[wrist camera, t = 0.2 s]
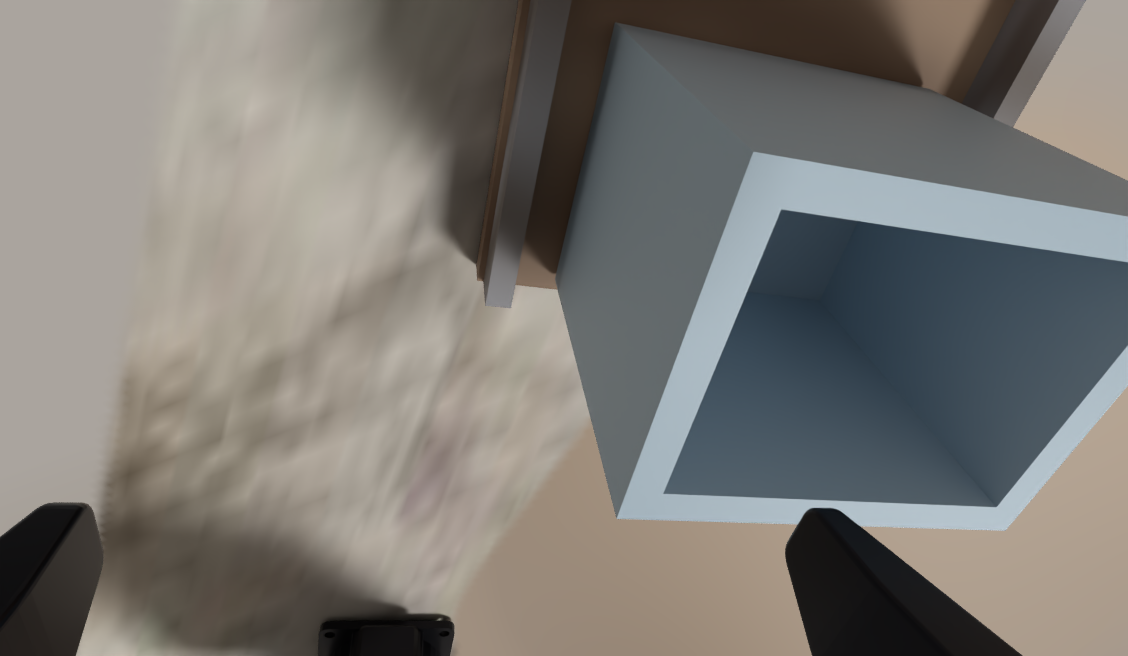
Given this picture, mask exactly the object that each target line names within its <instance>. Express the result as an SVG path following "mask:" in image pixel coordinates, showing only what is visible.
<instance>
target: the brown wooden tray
mask: <svg viewBox="0 0 1128 656" xmlns="http://www.w3.org/2000/svg"><path fill="white" fill-rule="evenodd" d="M1085 1H1086V0H519V1H518V7H517V13H516V20H515V26H514V32H513V39H512V45H511V51H510V57H509V64H508V70H507V76H506V83H505V89H504V95H503V101H502V108H501V114H500V120H499V127H498V133H497V139H496V145H495V152H494V158H493V164H492V171H491V177H490V183H489V189H488V196H487V202H486V208H485V215H484V221H483V227H482V233H481V240H480V246H479V252H478V259H477V265H476V268H477V281H483V282H484V294H485V306H495V307H504V308H511V304H512V299H513V294H514V289H515V285H522V286H530V287H539V288H548V289H557V285H556V281H555V277H556V272H557V268H558V264H559V260H560V255H561V251H562V247H563V242H564V238H565V234H566V230H567V225H568V221H569V217H570V212H571V208H572V204H573V200H574V195H575V191H576V187H577V183H578V178H579V174H580V170H581V165H582V161H583V157H584V153H585V148H586V144H587V140H588V135H589V131H590V127H591V123H592V118H593V114H594V110H595V105H596V101H597V97H598V93H599V88H600V84H601V80H602V75H603V71H604V67H605V63H606V58H607V54H608V50H609V45H610V41H611V37H612V33H613V28H614V24H615V22H616V23H621V24H626V25H631V26H635V27H640V28H645V29H649V30H654V31H659V32H664V33H668V34H673V35H678V36H682V37H687V38H692V39H697V40H701V41H706V42H711V43H715V44H720V45H725V46H730V47H734V48H739V49H744V50H748V51H753V52H758V53H763V54H767V55H772V56H777V57H781V58H786V59H791V60H796V61H800V62H805V63H810V64H815V65H819V66H824V67H829V68H833V69H838V70H843V71H848V72H852V73H857V74H862V75H866V76H871V77H876V78H881V79H885V80H890V81H895V82H899V83H904V84H909V85H914V86H918V87H923V88H928V89H931V90H933V91H935V92H937V93H939V94H941V95H944V96H946V97H948V98H950V99H952V100H954V101H956V102H959V103H961V104H963V105H965V106H967V107H969V108H972V109H974V110H976V111H978V112H980V113H982V114H985V115H987V116H989V117H991V118H993V119H995V120H998V121H1000V122H1002V123H1004V124H1006V125H1008V126H1011V127H1013V126H1014V125H1015V123H1016V121H1017V119H1018V118H1019V116H1020V114H1021V112H1022V111H1023V109H1024V107H1025V105H1026V104H1027V102H1028V100H1029V98H1030V96H1031V95H1032V93H1033V91H1034V90H1035V88H1036V86H1037V85H1038V83H1039V81H1040V79H1041V78H1042V76H1043V74H1044V72H1045V71H1046V69H1047V67H1048V66H1049V64H1050V62H1051V60H1052V59H1053V57H1054V55H1055V53H1056V51H1057V50H1058V48H1059V46H1060V45H1061V43H1062V41H1063V39H1064V38H1065V36H1066V34H1067V32H1068V31H1069V29H1070V27H1071V26H1072V24H1073V22H1074V20H1075V19H1076V17H1077V15H1078V13H1079V12H1080V10H1081V8H1082V6H1083V4H1084V3H1085ZM557 290H558V289H557Z"/></svg>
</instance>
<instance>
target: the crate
mask: <svg viewBox="0 0 1128 656" xmlns="http://www.w3.org/2000/svg"><path fill="white" fill-rule="evenodd" d="M555 281H556V285H557V289H558V293H559V297H560V301H561V305H562V308H563V312H564V316H565V320H566V324H567V328H568V332H569V336H570V339H571V343H572V347H573V351H574V355H575V359H576V363H577V367H578V371H579V374H580V378H581V382H582V386H583V390H584V394H585V398H586V402H587V406H588V409H589V413H590V417H591V421H592V425H593V429H594V433H595V437H596V440H597V444H598V448H599V452H600V456H601V460H602V464H603V468H604V472H605V476H606V479H607V483H608V487H609V491H610V495H611V499H612V503H613V506H614V511H615V514H616V518H617V519H643V520H676V521H709V522H741V523H742V522H743V523H774V524H798V523H799V521H800V520H801V518H802V516H803V515H804V513H805V512H806V511H807V510H809V509H810V508H834V509H838V510H840V511H841V512H843V513H844V514H845V515H846V516H848V517H849V518H850V519H851V520H853V521H854V522H855V523H856V524H858V525H859V526H871V527H872V526H873V527H904V528H937V529H939V528H940V529H970V530H1002V531H1003V530H1004V531H1005V530H1006V529H1007V528H1008V527H1009V526H1010V524H1011V523H1012V522H1013V521H1014V520H1015V519H1016V517H1017V516H1018V515H1019V514H1020V513H1021V511H1022V510H1023V509H1024V508H1025V507H1026V505H1027V504H1028V503H1029V502H1030V501H1031V500H1032V498H1033V497H1034V496H1035V495H1036V494H1037V492H1038V491H1039V490H1040V489H1041V488H1042V487H1043V485H1044V484H1045V483H1046V482H1047V481H1048V480H1049V478H1050V477H1051V476H1052V475H1053V473H1054V472H1055V471H1056V470H1057V469H1058V468H1059V466H1060V465H1061V464H1062V463H1063V462H1064V460H1065V459H1066V458H1067V457H1068V456H1069V455H1070V453H1071V452H1072V451H1073V450H1074V449H1075V448H1076V446H1077V445H1078V444H1079V443H1080V442H1081V440H1082V439H1083V438H1084V437H1085V436H1086V435H1087V433H1088V432H1089V431H1090V430H1091V429H1092V427H1093V426H1094V425H1095V424H1096V423H1097V421H1098V420H1099V419H1100V418H1101V417H1102V416H1103V414H1104V413H1105V412H1106V411H1107V410H1108V408H1109V407H1110V406H1111V405H1112V404H1113V402H1114V401H1115V400H1116V399H1117V398H1118V397H1119V395H1120V394H1121V393H1122V392H1123V391H1124V390H1125V388H1126V387H1127V386H1128V181H1127V180H1125V179H1123V178H1121V177H1119V176H1117V175H1114V174H1112V173H1110V172H1108V171H1106V170H1104V169H1101V168H1099V167H1097V166H1095V165H1093V164H1090V163H1088V162H1086V161H1084V160H1082V159H1079V158H1078V157H1075V156H1073V155H1071V154H1069V153H1067V152H1065V151H1062V150H1060V149H1058V148H1056V147H1054V146H1051V145H1050V144H1047V143H1045V142H1043V141H1041V140H1039V139H1037V138H1034V137H1032V136H1030V135H1028V134H1026V133H1024V132H1021V131H1019V130H1017V129H1015V128H1013V127H1011V126H1008V125H1006V124H1004V123H1002V122H1000V121H998V120H995V119H993V118H991V117H989V116H987V115H985V114H982V113H980V112H978V111H976V110H974V109H972V108H969V107H967V106H965V105H963V104H961V103H959V102H956V101H954V100H952V99H950V98H948V97H946V96H944V95H941V94H939V93H937V92H935V91H933V90H931V89H928V88H923V87H918V86H914V85H909V84H904V83H899V82H895V81H890V80H885V79H881V78H876V77H871V76H866V75H862V74H857V73H852V72H848V71H843V70H838V69H833V68H829V67H824V66H819V65H815V64H810V63H805V62H800V61H796V60H791V59H786V58H781V57H777V56H772V55H767V54H763V53H758V52H753V51H748V50H744V49H739V48H734V47H730V46H725V45H720V44H715V43H711V42H706V41H701V40H697V39H692V38H687V37H682V36H678V35H673V34H668V33H664V32H659V31H654V30H649V29H645V28H640V27H635V26H631V25H626V24H621V23H616V22H615V24H614V28H613V33H612V37H611V41H610V45H609V50H608V54H607V58H606V63H605V67H604V71H603V75H602V80H601V84H600V88H599V93H598V97H597V101H596V105H595V110H594V114H593V118H592V123H591V127H590V131H589V135H588V140H587V144H586V148H585V153H584V157H583V161H582V165H581V170H580V174H579V178H578V183H577V187H576V191H575V195H574V200H573V204H572V208H571V212H570V217H569V221H568V225H567V230H566V234H565V238H564V242H563V247H562V251H561V255H560V260H559V264H558V268H557V272H556V277H555Z"/></svg>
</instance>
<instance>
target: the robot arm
mask: <svg viewBox="0 0 1128 656" xmlns="http://www.w3.org/2000/svg"><path fill="white" fill-rule="evenodd" d="M785 557H786V563H787V567H788V570H789V574H790V577H791V581H792V585H793V589H794V592H795V596H796V599H797V603H798V607H799V610H800V614H801V617H802V621H803V625H804V628H805V632H806V636H807V639H808V643H809V646H810V650H811V653H812V656H1022V655H1021V654H1020V653H1019V652H1017V651H1016V650H1015V649H1014V648H1012V647H1011V646H1010V645H1008V644H1007V643H1006V642H1004V641H1003V640H1002V639H1001V638H1000V637H998V636H997V635H996V634H995V633H993V632H992V631H991V630H990V629H988V628H987V627H986V626H985V625H983V624H982V623H981V622H979V621H978V620H977V619H976V618H975V617H973V616H972V615H971V614H970V613H968V612H967V611H966V610H964V609H963V608H962V607H961V606H959V605H958V604H957V603H956V602H955V601H953V600H952V599H951V598H949V597H948V596H947V595H946V594H944V593H943V592H942V591H941V590H939V589H938V588H937V587H936V586H934V585H933V584H932V583H930V582H929V581H928V580H927V579H925V578H924V577H923V576H922V575H921V574H919V573H918V572H917V571H916V570H914V569H913V568H912V567H910V566H909V565H908V564H906V563H905V562H904V561H903V560H902V559H900V558H899V557H898V556H897V555H895V554H894V553H893V552H892V551H890V550H889V549H888V548H887V547H885V546H884V545H883V544H882V543H880V542H879V541H878V540H876V539H875V538H874V537H873V536H871V535H870V534H869V533H868V532H867V531H865V530H864V529H863V528H861V527H860V526H859V525H858V524H856V523H855V522H854V521H853V520H851V519H850V518H849V517H848V516H846V515H845V514H844V513H843V512H841V511H840V510H838V509H834V508H810V509H809V510H807V511H806V512H805V513H804V515H803V516H802V518H801V520H800V521H799V523H798V525H797V527H796V528H795V530H794V532H793V533H792V535H791V537H790V538H789V541H788V542H787V544H786V549H785ZM102 565H103V547H102V543H101V539H100V536H99V532H98V528H97V524H96V520H95V516H94V512H93V510H92V508H91V507H90V506H89V505H88V504H85V503H48V504H45V505H43V506H40V507H39V508H37V509H36V510H34V511H33V512H32V513H30V514H29V515H28V516H26V518H24V519H23V520H21V521H20V522H19V523H18V524H16V525H15V526H14V527H12V528H11V529H10V530H9V531H7V532H6V533H5V534H3V535H2V536H1V537H0V656H76V653H77V650H78V646H79V643H80V640H81V637H82V633H83V630H84V627H85V623H86V620H87V617H88V614H89V610H90V607H91V604H92V600H93V597H94V594H95V590H96V587H97V584H98V581H99V577H100V574H101V570H102ZM453 638H454V624H453V623H452V622H450V621H330V622H325V623H323V624H322V625H321V626H320V631H319V646H318V656H450V652H451V647H452V643H453Z"/></svg>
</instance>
